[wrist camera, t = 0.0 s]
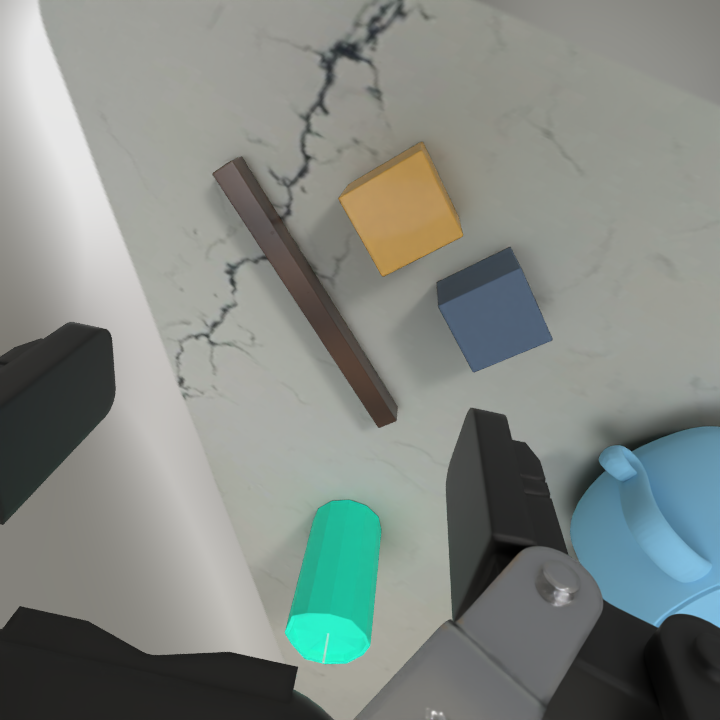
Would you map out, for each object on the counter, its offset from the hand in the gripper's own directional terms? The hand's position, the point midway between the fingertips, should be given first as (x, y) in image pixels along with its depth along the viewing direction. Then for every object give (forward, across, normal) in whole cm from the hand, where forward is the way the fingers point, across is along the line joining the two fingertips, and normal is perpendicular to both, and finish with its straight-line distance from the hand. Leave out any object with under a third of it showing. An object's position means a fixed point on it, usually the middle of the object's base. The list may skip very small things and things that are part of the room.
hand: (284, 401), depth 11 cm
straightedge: (+22, +2, +7) cm, 24 cm away
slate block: (+22, -9, +5) cm, 24 cm away
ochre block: (+22, -2, 0) cm, 22 cm away
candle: (+23, -3, +28) cm, 36 cm away
